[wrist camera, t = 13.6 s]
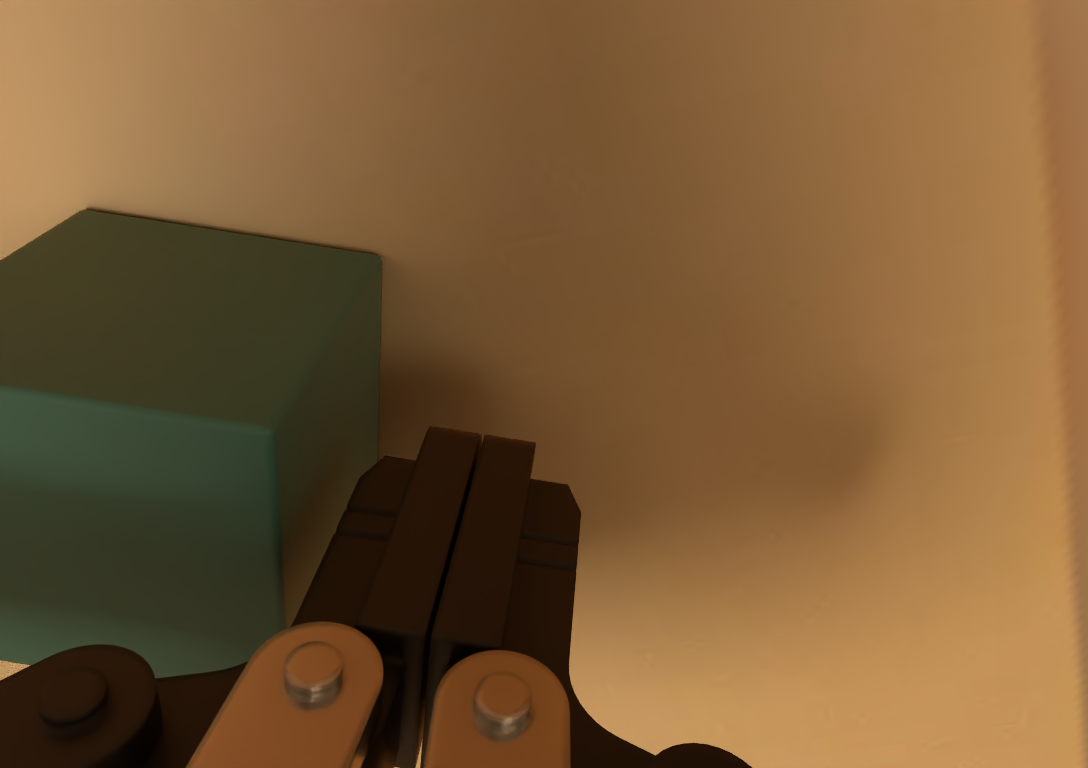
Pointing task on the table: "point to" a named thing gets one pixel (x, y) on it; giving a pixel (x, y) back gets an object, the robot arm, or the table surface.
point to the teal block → (176, 434)
